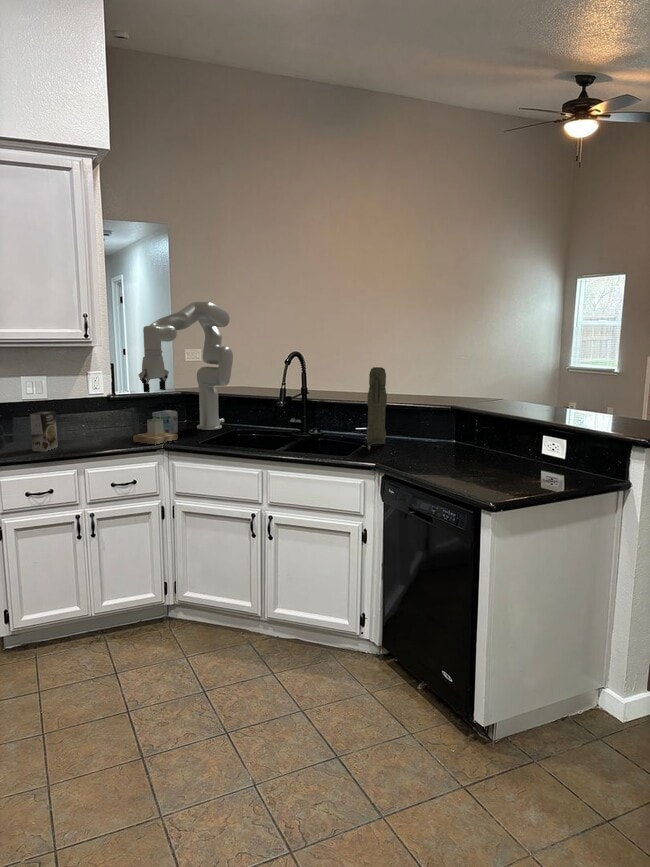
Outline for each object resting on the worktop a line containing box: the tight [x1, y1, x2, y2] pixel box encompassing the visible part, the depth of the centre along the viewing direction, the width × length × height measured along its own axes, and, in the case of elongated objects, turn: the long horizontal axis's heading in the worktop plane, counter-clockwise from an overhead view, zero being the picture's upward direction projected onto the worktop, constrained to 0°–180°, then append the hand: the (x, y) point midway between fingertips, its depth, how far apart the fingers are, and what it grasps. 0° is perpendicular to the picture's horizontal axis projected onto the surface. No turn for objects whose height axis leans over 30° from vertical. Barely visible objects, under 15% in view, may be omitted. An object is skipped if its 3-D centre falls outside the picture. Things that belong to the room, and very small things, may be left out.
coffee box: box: [29, 410, 58, 453], centre depth 276 cm, size 9×6×16 cm
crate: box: [146, 418, 165, 437], centre depth 296 cm, size 6×6×7 cm
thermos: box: [365, 366, 388, 445], centre depth 294 cm, size 9×12×35 cm
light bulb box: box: [151, 409, 179, 434], centre depth 316 cm, size 11×7×11 cm, turn 143°
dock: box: [132, 432, 179, 446], centre depth 297 cm, size 14×14×3 cm
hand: (154, 391), depth 293 cm, fingers open, 9 cm apart
